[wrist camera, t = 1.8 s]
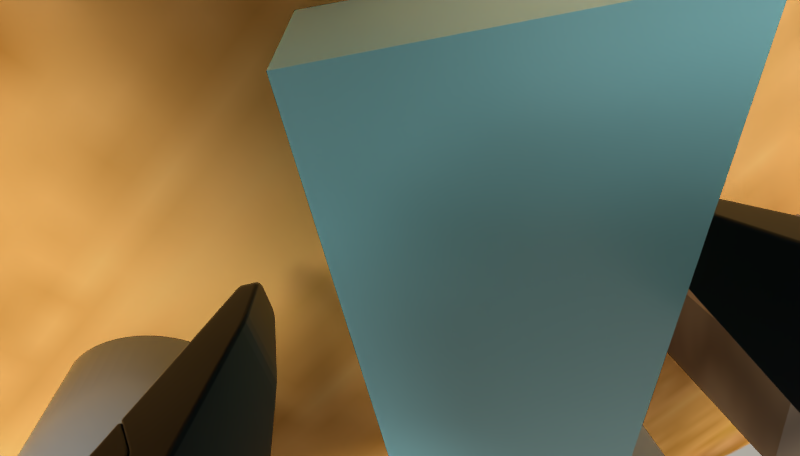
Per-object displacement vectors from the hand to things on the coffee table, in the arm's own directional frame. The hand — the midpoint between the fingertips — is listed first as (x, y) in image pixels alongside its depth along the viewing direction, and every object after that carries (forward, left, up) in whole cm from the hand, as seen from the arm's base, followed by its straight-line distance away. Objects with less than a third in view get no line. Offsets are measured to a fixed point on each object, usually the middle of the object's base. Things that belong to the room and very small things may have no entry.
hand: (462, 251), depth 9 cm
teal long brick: (0, 0, -3) cm, 3 cm away
